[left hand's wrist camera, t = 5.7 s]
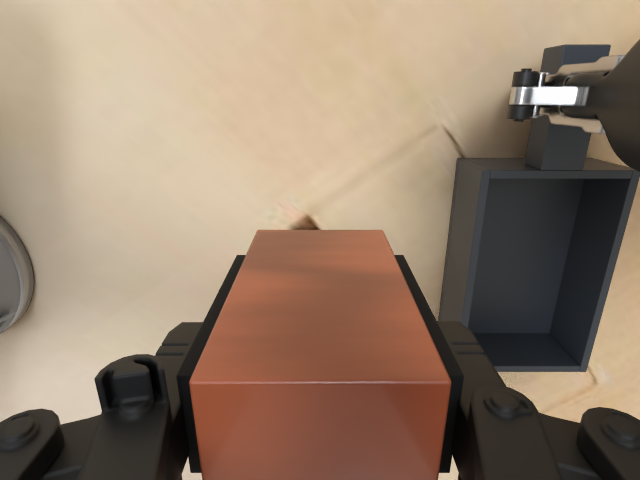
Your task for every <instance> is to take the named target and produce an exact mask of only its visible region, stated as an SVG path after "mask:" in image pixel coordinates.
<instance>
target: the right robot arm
mask: <svg viewBox="0 0 640 480" xmlns="http://www.w3.org/2000/svg"><path fill="white" fill-rule="evenodd" d="M531 70H532V69H521V72H514V75H513V81H512V88H511V94H510V101H509V107H508V114H507V118H508V119H514V120H513V121H516V122H523V119H531V118H538V117H539V116H543V115H548V116H549V120H550V122H551V123H552V124H557V125H567V126H576V127H581V128H582V129H583V130H584V131H585V132H588V133H596V134H606V136H607V138H608V141H609V143H610V145H611V147H612V149H613V150H614V152H615V153H616V155H617V156H618V157H619V158H620V159H621V160H622V161H623V162H624V163H625V164H626V165H628V166H629V167H631V168H632V169H634V170H636V171H638V172H640V40H639V41H638V42H637V43H636V44H635V45H634V46H633V47H632V48H631V49H630V51H629V52H628V53H627V54H626V55H616V56H605V57H601V58H600V59H599V60H598V61H596V62H594V63H581V64H569V65H563V66H561V67H560V69H559V70H558V72H557V73H556V74H552V75H551V73H546V72H536V71H531ZM555 85H556V87H555ZM549 106H551V107H549Z"/></svg>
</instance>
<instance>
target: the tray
mask: <svg viewBox="0 0 640 480" xmlns="http://www.w3.org/2000/svg"><path fill="white" fill-rule="evenodd" d="M610 47H611V45H561V46H556V47H550V48H546V49H544V54H543V60H542V66H541V71H540V72H546V73H551V75H552V74H556V73H557V72H558V70H559V69H560V67H561V66H563V65H569V64H581V63H594V62H596V61H598V60H599V59H600V58H601V57H605V56H609V51H610ZM555 87H556V85H555ZM549 107H551V106H549ZM590 136H591V133H588V132H585V131H584V130H583V129H582V128H581V127H576V126H567V125H557V124H552V123H551V122H550V120H549V116H548V115H543V116H539V117H538V118H532V123H531V129H530V135H529V141H528V146H527V152H526V158H457V165H456V174H455V182H454V191H453V200H452V208H451V217H450V226H449V234H448V243H447V252H446V260H445V269H444V278H443V286H442V295H441V304H440V312H439V321H459V322H460V323H461V324H463V325H464V326H465V327H467V328H468V329H469V330H471V331H472V333H473V334H474V336H475V337H476V339H477V341H478V342H479V345H481V347H482V349H483V350H484V352H485V354H486V355H487V357H488V358H489V360H490V361H491V363H492V364H493V366H494V368H495V369H496V371H497V372H586V370H587V367H588V363H589V359H590V356H591V352H592V348H593V345H594V341H595V337H596V334H597V330H598V326H599V323H600V319H601V316H602V312H603V308H604V305H605V301H606V297H607V294H608V290H609V286H610V283H611V279H612V275H613V272H614V268H615V265H616V261H617V257H618V254H619V250H620V246H621V243H622V239H623V235H624V232H625V228H626V225H627V221H628V217H629V214H630V210H631V206H632V203H633V199H634V195H635V192H636V188H637V184H638V181H639V177H640V172H638V171H636V170H634V169H632V168H630V167H626V166H622V165H618V164H614V163H609V162H605V161H601V160H597V159H593V158H586V154H587V149H588V145H589V140H590Z"/></svg>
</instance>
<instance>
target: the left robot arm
mask: <svg viewBox="0 0 640 480" xmlns="http://www.w3.org/2000/svg"><path fill="white" fill-rule="evenodd" d="M245 256H246V255H237V256H236V258H235V260H234V262H233V264H232V266H231V268H230V270H229V272H228V274H227V276H226V278H225V280H224V282H223V284H222V286H221V288H220V290H219V292H218V294H217V296H216V298H215V300H214V302H213V304H212V306H211V308H210V310H209V312H208V314H207V316H206V318H205V320H204V322H182V323H181V324H179V325H178V326H177V327H175V328H174V329H173V330H171V331H170V332H169V333H168V335H167V336H166V338H165V340H164V341H163V343H162V346H160V348H159V349H158V351H157V352H156V356H152V355H149V354H138V355H132V356H128V357H123V358H121V359H119V360H117V361H114V362H112V363H110V364H109V365H107V366H106V367H105V368H103V369H102V370H101V371H100V372H99V373H98V375H97V376H96V377H95V383H96V387H97V392H98V396H99V400H100V404H101V408H102V413H101V415H98V416H95V417H91V418H88V419H83V420H79V421H75V422H70V423H66V424H62V425H61V424H60V421H59V417H58V415H56V414H55V413H54V412H53V411H51V410H46V409H36V410H28V411H25V412H22V413H19V414H16V415H13V416H11V417H9V418H7V419H6V420H4V421H2V422H0V480H182V475H181V474H182V472H183V469H184V466H185V463H186V461H187V458H188V457H189V464H190V471H191V473H202V472H201V465H200V457H199V450H198V443H197V436H196V428H195V421H194V414H193V406H192V399H191V392H190V385H189V381H190V379H191V377H192V374H193V372H194V370H195V368H196V365H197V363H198V361H199V359H200V357H201V354H202V352H203V350H204V348H205V345H206V343H207V341H208V339H209V337H210V334H211V332H212V330H213V328H214V325H215V323H216V321H217V319H218V317H219V314H220V312H221V310H222V308H223V305H224V303H225V301H226V299H227V297H228V294H229V292H230V290H231V288H232V285H233V283H234V281H235V279H236V276H237V274H238V272H239V270H240V268H241V265H242V263H243V261H244V259H245ZM394 256H395V258H396V260H397V262H398V265H399V267H400V269H401V271H402V274H403V276H404V278H405V280H406V282H407V285H408V287H409V289H410V291H411V293H412V296H413V298H414V300H415V302H416V305H417V307H418V309H419V311H420V313H421V316H422V318H423V320H424V322H425V324H426V327H427V329H428V331H429V333H430V336H431V338H432V340H433V342H434V344H435V347H436V349H437V351H438V353H439V355H440V358H441V360H442V362H443V364H444V367H445V369H446V371H447V373H448V375H449V378H450V380H451V389H450V396H449V403H448V411H447V418H446V425H445V432H444V439H443V446H442V453H441V461H440V468H439V473H450V466H451V459H452V455H453V458H454V461H455V463H456V466H457V469H458V472H459V475H458V480H640V420H639V419H637V418H635V417H633V416H631V415H629V414H627V413H624V412H621V411H618V410H615V409H610V408H602V407H597V408H592V409H588V410H587V411H586V412H585V413H584V414H583V415H582V419H581V422H580V423H577V422H573V421H568V420H564V419H560V418H555V417H551V416H548V415H545V414H541V413H539V412H538V410H537V409H536V407H535V406H534V404H533V403H532V401H530V400H529V399H528V398H527V397H526V396H524V395H523V394H522V393H520V392H518V391H516V390H514V389H512V388H508V387H506V385H505V384H504V382H503V380H502V379H501V377H500V376H499V374H498V372H497V371H496V369H495V368H494V366H493V364H492V363H491V361H490V360H489V358H488V357H487V355H486V354H485V352H484V350H483V349H482V347H481V345H479V342H478V341H477V339H476V337H475V336H474V334H473V333H472V331H471V330H469V329H468V328H467V327H465V326H464V325H463V324H461V323H460V322H459V321H436V319H435V317H434V315H433V313H432V311H431V309H430V307H429V305H428V303H427V301H426V299H425V297H424V295H423V293H422V291H421V289H420V287H419V285H418V283H417V282H416V280H415V278H414V276H413V274H412V272H411V270H410V268H409V266H408V264H407V262H406V260H405V258H404V256H403V255H394ZM33 287H34V278H33V271H32V266H31V263H30V259H29V257H28V254H27V252H26V250H25V248H24V246H23V244H22V242H21V241H20V239H19V238H18V236H17V235H16V233H15V232H14V231H13V229H12V228H11V227H10V226H9V225H8V224H7V222H6V221H5V220H4V219H3V218H2V217H0V334H1V333H2V332H3V331H5V330H6V329H7V328H9V327H10V326H11V325H13V324H14V323H15V322H16V321H18V320H19V319H20V318H21V317H22V315H23V314H24V313H25V311H26V310H27V308H28V306H29V304H30V301H31V298H32V294H33Z"/></svg>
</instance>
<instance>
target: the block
mask: <svg viewBox="0 0 640 480" xmlns="http://www.w3.org/2000/svg"><path fill="white" fill-rule="evenodd" d="M189 385H190V392H191V399H192V406H193V414H194V421H195V428H196V436H197V443H198V450H199V457H200V465H201V472H202V479H203V480H438V475H439V468H440V461H441V453H442V446H443V439H444V432H445V425H446V418H447V411H448V403H449V396H450V389H451V380H450V378H449V375H448V373H447V371H446V369H445V367H444V364H443V362H442V360H441V358H440V355H439V353H438V351H437V349H436V347H435V344H434V342H433V340H432V338H431V336H430V333H429V331H428V329H427V327H426V324H425V322H424V320H423V318H422V316H421V313H420V311H419V309H418V307H417V305H416V302H415V300H414V298H413V296H412V293H411V291H410V289H409V287H408V285H407V282H406V280H405V278H404V276H403V274H402V271H401V269H400V267H399V265H398V262H397V260H396V258H395V256H394V254H393V251H392V249H391V247H390V245H389V243H388V240H387V238H386V236H385V234H384V232H383V230H257V232H256V234H255V236H254V239H253V241H252V243H251V245H250V248H249V250H248V252H247V254H246V256H245V259H244V261H243V263H242V265H241V268H240V270H239V272H238V274H237V276H236V279H235V281H234V283H233V285H232V288H231V290H230V292H229V294H228V297H227V299H226V301H225V303H224V305H223V308H222V310H221V312H220V314H219V317H218V319H217V321H216V323H215V325H214V328H213V330H212V332H211V334H210V337H209V339H208V341H207V343H206V345H205V348H204V350H203V352H202V354H201V357H200V359H199V361H198V363H197V365H196V368H195V370H194V372H193V374H192V377H191V379H190V381H189Z"/></svg>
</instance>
